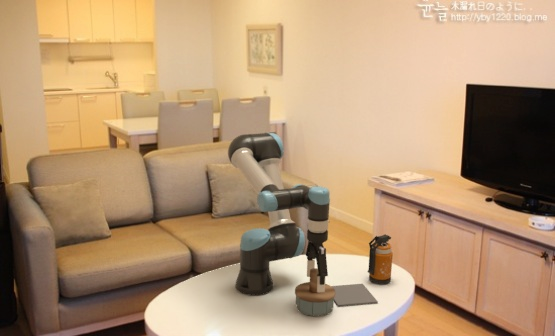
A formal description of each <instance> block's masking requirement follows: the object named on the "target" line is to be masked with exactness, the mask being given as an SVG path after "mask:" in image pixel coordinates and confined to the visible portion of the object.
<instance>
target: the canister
mask: <svg viewBox="0 0 555 336" xmlns="http://www.w3.org/2000/svg"><path fill="white" fill-rule="evenodd" d="M391 239H392V237H391V236H390V235H388V234H383V235H378V236H377V235H375V236H374V237H373V238H372V239H371V241H370V242H368V245H369V246H368V247H369V257H368V258H369V259H368V269H367V273H368V279H369V281H371V282H374V283H376V284H382V285H383V284H388V283H389V282H391V280H392V279H391V278H392V268H393V267H392V266H393V255H394V254H393V251H392V250H393V249H392V245H391V244H390V243H389V240H391Z"/></svg>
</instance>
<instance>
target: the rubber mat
mask: <svg viewBox="0 0 555 336" xmlns="http://www.w3.org/2000/svg"><path fill="white" fill-rule="evenodd" d="M330 286H331V287H333V288H334V289H335V297H334V304H336V306H337V307H338V308H341V307H342V308H344V307H353V306H367V305H374V304H378V302H379V301H378V300H377V299H376V298H375V296H374V295H373V294H372V293H371V291H370V290H369V289H368V288H367V286H365V285H364V284H363V283H355V284H353V283H352V284H343V285H342V284H340V285H330Z"/></svg>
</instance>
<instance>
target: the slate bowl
mask: <svg viewBox="0 0 555 336" xmlns="http://www.w3.org/2000/svg"><path fill="white" fill-rule="evenodd" d="M334 304H335V302H334V298H333V299H331V300H329V301H326V302H319V303H315V302H308V301H304V300H302V299H300V298H298V297H297V296H296V295H295V305H296V309H297V311H298V310H299V311H298V312H299V313H301V314H302V313H303V314H302V315H305V316H308V315H310V317H323V316H327V315H329V314H330V313H331V312H332V311H333V309H334Z"/></svg>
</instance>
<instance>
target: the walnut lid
mask: <svg viewBox="0 0 555 336" xmlns="http://www.w3.org/2000/svg"><path fill="white" fill-rule="evenodd" d="M317 274H318V267H317V268H313V269H311V270H310V277H309V281H307V282H303V283H300V284H298V285H296V286H295V289H294V294H295V297H296V296H297V297H298V298H300V299H302V300H304V301H308V302H315V303H319V302H326V301H329V300H331V299H333V298H334V297H335V289H334V288H333V287H331V286H332V285H330V284H327V283H325V292H317V277H318V276H317Z"/></svg>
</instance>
